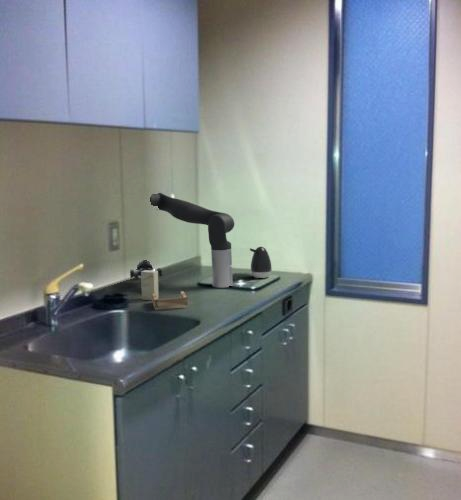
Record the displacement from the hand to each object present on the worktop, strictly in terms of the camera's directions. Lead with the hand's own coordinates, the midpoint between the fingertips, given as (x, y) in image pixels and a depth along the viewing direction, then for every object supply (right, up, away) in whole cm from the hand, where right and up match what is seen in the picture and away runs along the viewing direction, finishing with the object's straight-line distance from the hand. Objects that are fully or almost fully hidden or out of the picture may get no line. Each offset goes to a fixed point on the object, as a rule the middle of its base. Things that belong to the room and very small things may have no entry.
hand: (147, 276), depth 280 cm
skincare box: (+3, -9, -10) cm, 14 cm away
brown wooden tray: (+12, -11, -21) cm, 27 cm away
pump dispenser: (+52, -2, +28) cm, 59 cm away
